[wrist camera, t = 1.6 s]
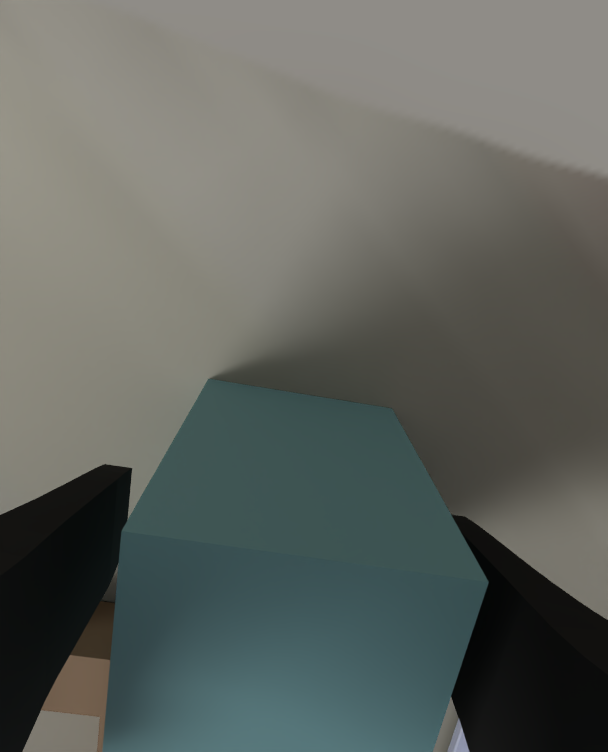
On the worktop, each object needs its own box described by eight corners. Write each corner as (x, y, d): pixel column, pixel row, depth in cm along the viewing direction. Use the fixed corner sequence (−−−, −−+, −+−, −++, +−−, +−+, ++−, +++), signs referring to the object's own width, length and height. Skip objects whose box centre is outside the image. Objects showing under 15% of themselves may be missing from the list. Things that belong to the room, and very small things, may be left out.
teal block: (391, 408, 14) (488, 581, 7) (354, 562, 15) (405, 834, 8) (208, 378, 13) (121, 530, 6) (188, 539, 15) (97, 804, 8)
